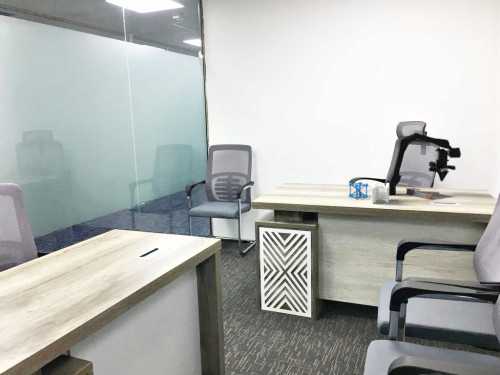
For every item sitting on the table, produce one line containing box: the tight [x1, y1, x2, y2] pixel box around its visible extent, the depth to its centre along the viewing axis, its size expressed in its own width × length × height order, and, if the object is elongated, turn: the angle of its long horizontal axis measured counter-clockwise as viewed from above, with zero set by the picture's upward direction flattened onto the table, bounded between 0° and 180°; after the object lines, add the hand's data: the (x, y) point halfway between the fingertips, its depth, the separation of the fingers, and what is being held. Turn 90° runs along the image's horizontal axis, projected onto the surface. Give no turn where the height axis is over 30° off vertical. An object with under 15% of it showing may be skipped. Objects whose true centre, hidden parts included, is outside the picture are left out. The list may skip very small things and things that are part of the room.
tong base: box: [405, 187, 432, 200], centre depth 270 cm, size 20×6×5 cm, turn 25°
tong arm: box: [415, 190, 440, 196], centre depth 273 cm, size 14×2×2 cm, turn 60°
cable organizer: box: [370, 182, 390, 204], centre depth 259 cm, size 15×11×12 cm
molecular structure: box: [348, 181, 369, 200], centre depth 276 cm, size 10×10×10 cm
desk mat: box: [404, 193, 455, 201], centre depth 273 cm, size 20×25×1 cm
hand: (441, 181), depth 273 cm, fingers closed
